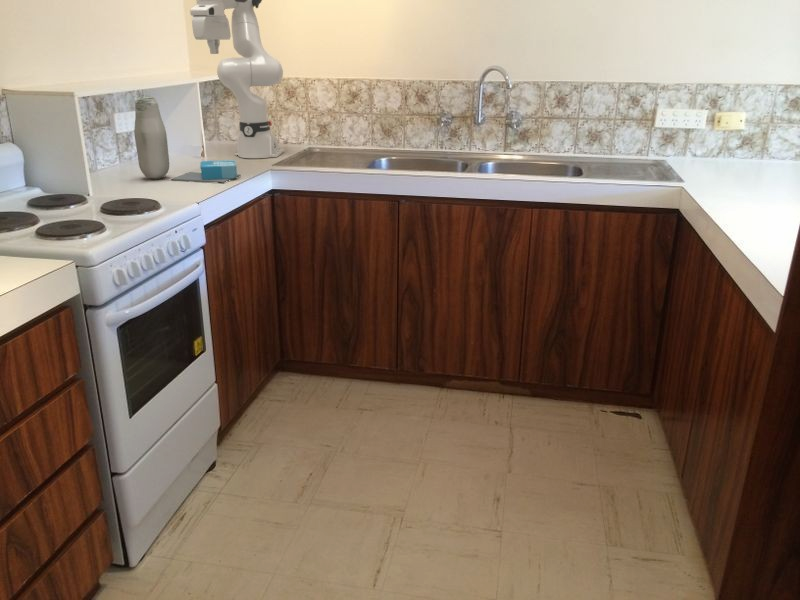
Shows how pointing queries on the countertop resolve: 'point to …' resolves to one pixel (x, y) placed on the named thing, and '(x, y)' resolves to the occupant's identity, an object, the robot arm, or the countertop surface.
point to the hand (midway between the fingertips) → (214, 53)
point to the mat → (197, 178)
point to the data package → (218, 169)
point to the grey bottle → (150, 138)
